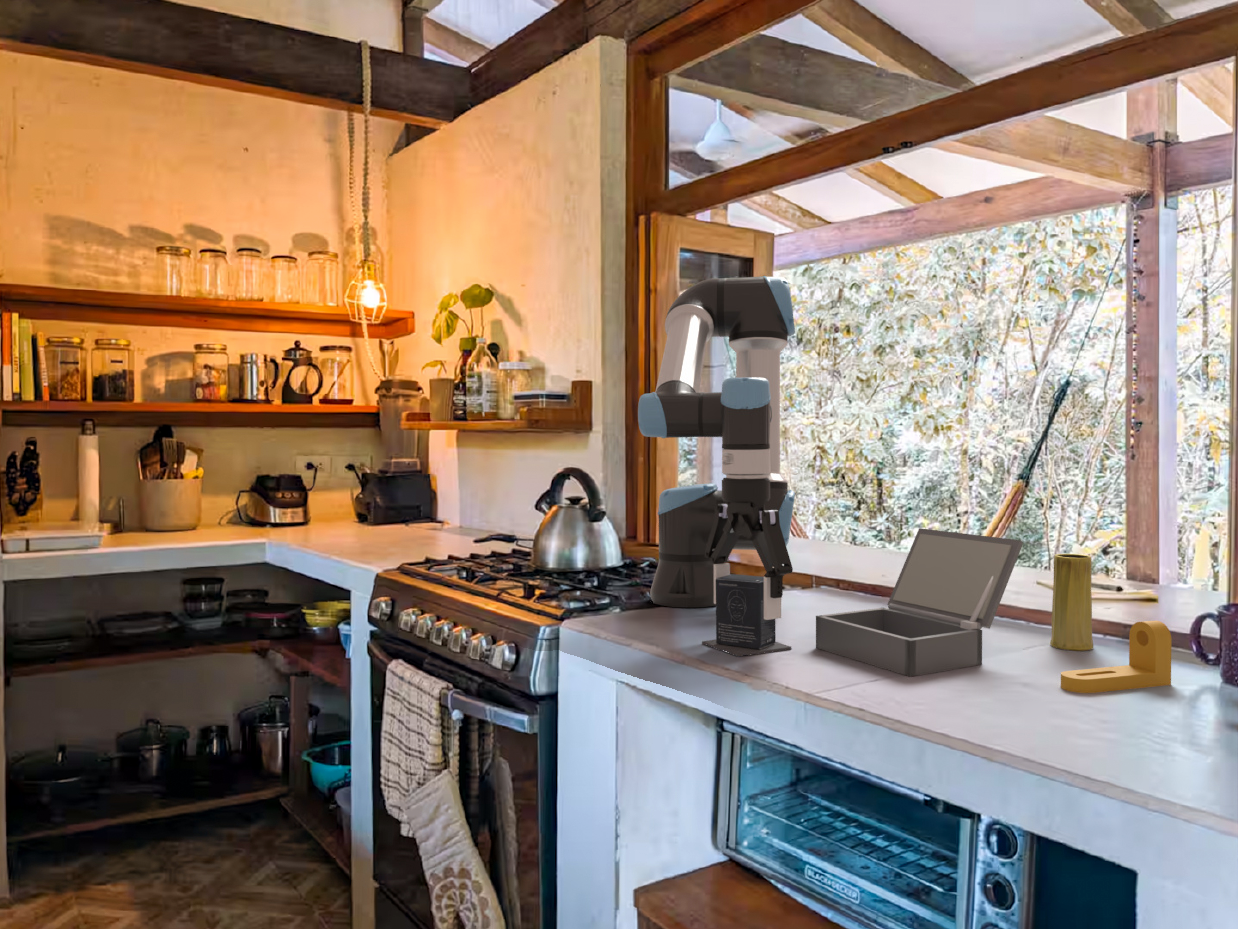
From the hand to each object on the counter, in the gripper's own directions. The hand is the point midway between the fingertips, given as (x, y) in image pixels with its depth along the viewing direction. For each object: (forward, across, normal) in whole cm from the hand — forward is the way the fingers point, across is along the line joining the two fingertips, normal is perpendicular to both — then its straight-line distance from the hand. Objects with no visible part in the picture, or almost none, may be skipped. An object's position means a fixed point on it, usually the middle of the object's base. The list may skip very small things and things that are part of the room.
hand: (746, 610), depth 149 cm
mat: (+6, 0, 0) cm, 6 cm away
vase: (+6, +25, +44) cm, 51 cm away
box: (+5, 0, 0) cm, 5 cm away
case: (+6, +16, +20) cm, 26 cm away
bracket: (+6, +42, +29) cm, 52 cm away
